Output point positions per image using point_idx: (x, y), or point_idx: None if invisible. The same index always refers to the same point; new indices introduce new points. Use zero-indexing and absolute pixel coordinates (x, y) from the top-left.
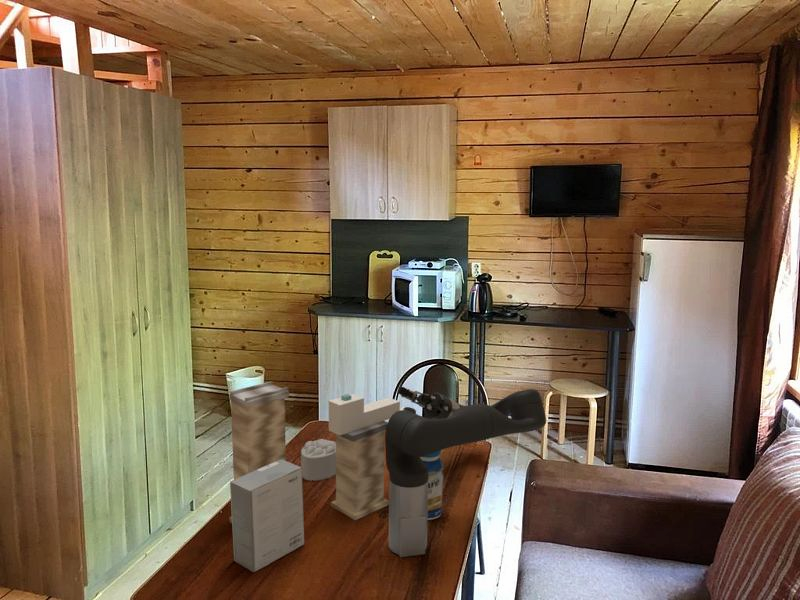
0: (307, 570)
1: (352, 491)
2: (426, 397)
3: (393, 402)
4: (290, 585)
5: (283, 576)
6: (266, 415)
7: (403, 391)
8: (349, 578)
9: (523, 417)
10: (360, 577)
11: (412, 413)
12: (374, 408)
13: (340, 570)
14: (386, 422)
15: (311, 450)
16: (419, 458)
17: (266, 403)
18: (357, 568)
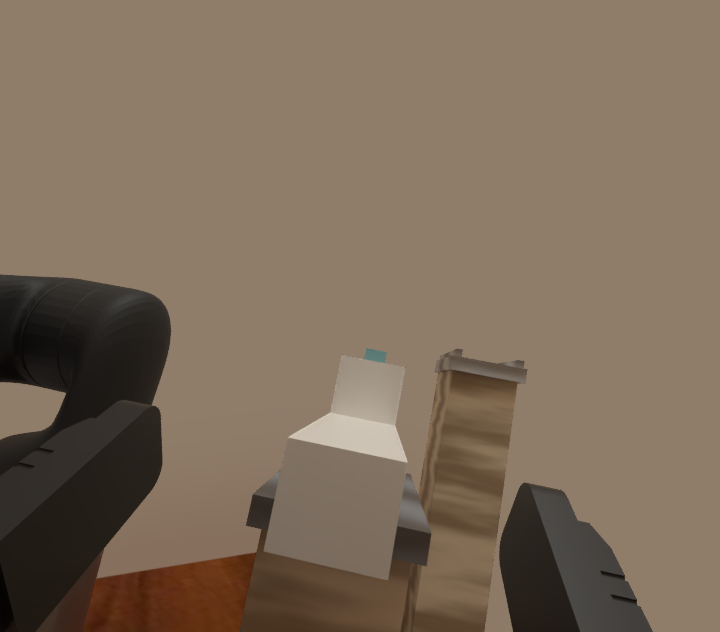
0: (219, 592)
1: None
2: (62, 443)
3: (312, 434)
4: (222, 568)
5: (246, 576)
6: (440, 399)
7: (530, 586)
8: (131, 596)
9: None
10: (109, 602)
11: (106, 284)
12: (331, 420)
13: (159, 606)
14: (272, 496)
15: None
16: (33, 435)
17: (444, 374)
18: (125, 618)
